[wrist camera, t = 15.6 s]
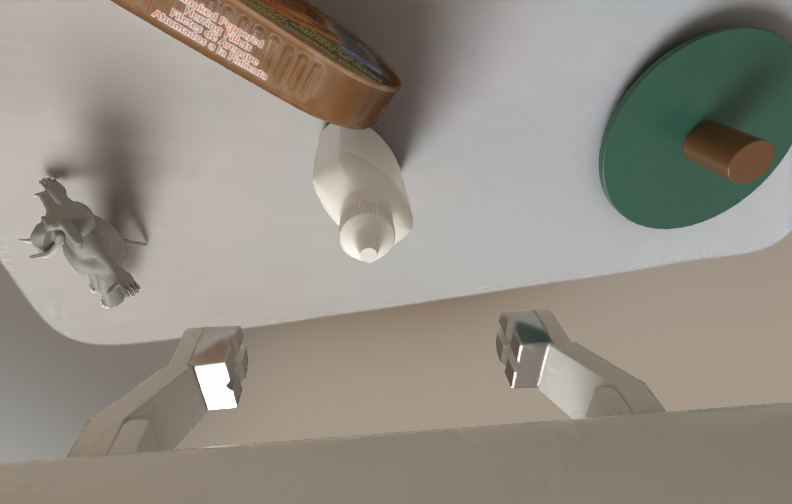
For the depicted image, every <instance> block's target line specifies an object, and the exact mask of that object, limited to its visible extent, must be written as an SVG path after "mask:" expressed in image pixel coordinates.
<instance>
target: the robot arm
mask: <svg viewBox="0 0 792 504" xmlns="http://www.w3.org/2000/svg"><path fill="white" fill-rule="evenodd" d="M499 322H500V325H501V327H502V328H501V329H500V330H499V331H498V332H497V338H496V347H497V353H498V356H499V359H500V361H501V362H502V363H504V364H505V365H506V369H505V374H506V376H507V378H508V381H509V383H510V386H511V388H532V387H538V389H539V390H540V391H541V392H543V393H544V394H545V395H546V396H547V397H548V398H549V399H551V400H552V401H553V402H554V403H555V404H556V405H558V406H559V407H560V408H561V409H562V410H563V411H564V412H565V413H567V414H568V415H569V416H570V417H571V418H572V419H567V420H566V419H565V420H553V421H541V422H528V423H515V424H502V425H491V426H490V425H489V426H477V427H462V428H449V429H435V430H422V431H408V432H396V433H383V434H370V435H358V436H345V437H331V438H318V439H305V440H292V441H279V442H267V443H253V444H240V445H227V446H214V447H201V448H189V449H175V450H173V449H174V448H175V447H176V446H177V444H178V443H179V442H180V441H181V440H182V439H183V438H184V437H185V435H187V434H188V433H189V431H190V430H191V429H192V428H193V427H194V426H195V425H196V424H197V423H198V422H199V421H200V419H201V418H202V417H203V416H204V415H205V414H206V413H207V410H215V409H226V408H236V407H237V406H238V403H239V399H240V395H241V392H242V387H241V383H240V382H241V381H242V380H243V379H244V378H245V377H246V372H247V365H248V357H247V350H246V347H245V346H244V345H243V344H242V343H241V342H242V339H243V333H242V329H241V327H239V326H223V327H206V328H205V327H200V328H188V329H187V330H186V331H185V332H184V334H183V336H182V338H181V341H180V343H179V345H178V347H177V349H176V351H175V353H174V355H173V357H172V359H171V361H170V363H169V365H168V367H164V368H161V369H160V370H159V371H157V372H156V373H154V374H153V375H152V376H150V377H149V378H147V379H146V380H145V381H143V382H142V383H141V384H139V385H138V386H136V387H135V388H134V389H132V390H131V391H130V392H128V393H127V394H126V395H124V396H123V397H121V398H120V399H119V400H117V401H116V402H114V403H113V404H112V405H110V406H109V407H108V408H106V409H105V410H103V411H102V412H101V413H99V414H98V415H97V416H95V417H94V418H92V419H91V420H90V421H88V422H87V424H86V426H85V427H84V429H83V431H82V432H81V434H80V436H79V437H78V439H77V441H76V442H75V444H74V446H73V447H72V449H71V451H70V452H69V454H68V455H67V457H66V458H57V459H43V460H30V461H18V462H5V463H0V504H792V403H773V404H762V405H748V406H735V407H723V408H709V409H696V410H683V411H670V412H666V410H665V409H664V408H663V406H662V405H661V404H660V403H659V401H658V400H657V398H656V397H655V396H654V395H653V393H652V392H651V390H650V389H649V388H648V386H647V385H646V384H645V383H644V382H642V381H641V380H639V379H637V378H635V377H634V376H632V375H630V374H628V373H627V372H625V371H623V370H622V369H620V368H618V367H617V366H615V365H613V364H612V363H610V362H608V361H606V360H604V359H603V358H601V357H599V356H598V355H596V354H595V353H593V352H591V351H589V350H588V349H586V348H584V347H582V346H581V345H579V344H577V343H576V342H573V343H571V342H570V340H569V338H568V337H567V335H566V334H565V332H564V331H563V329H562V328H561V326H560V325H559V323H558V321H557V320H556V318H555V317H554V315H553V314H552V312H551V311H550V310H549V309H536V310H526V311H509V312H502V313H501V315H500V320H499Z"/></svg>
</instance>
